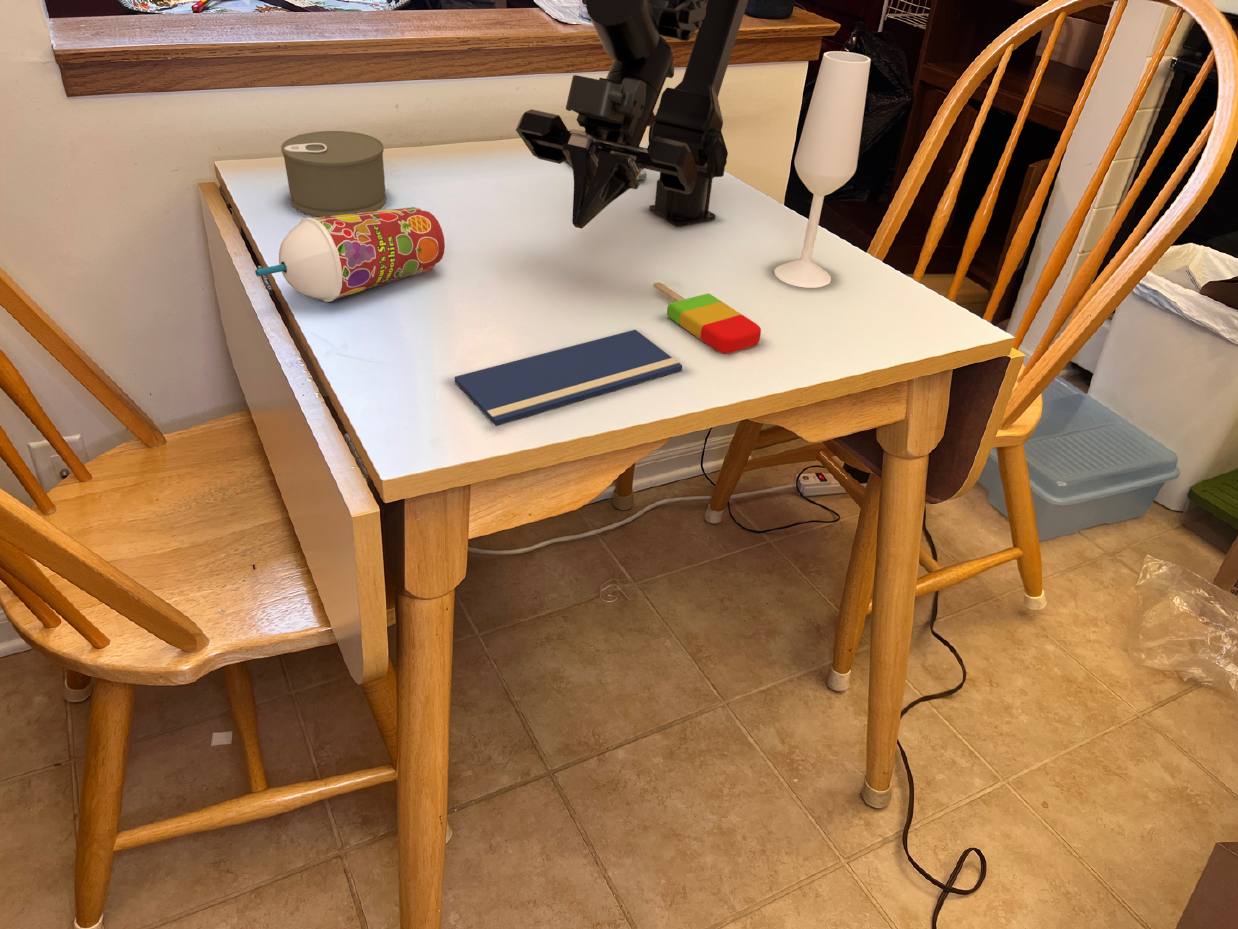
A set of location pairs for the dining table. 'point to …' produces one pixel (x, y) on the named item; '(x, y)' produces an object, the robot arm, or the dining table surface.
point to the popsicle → (712, 321)
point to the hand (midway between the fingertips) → (577, 226)
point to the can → (335, 173)
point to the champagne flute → (828, 149)
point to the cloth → (565, 376)
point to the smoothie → (358, 251)
